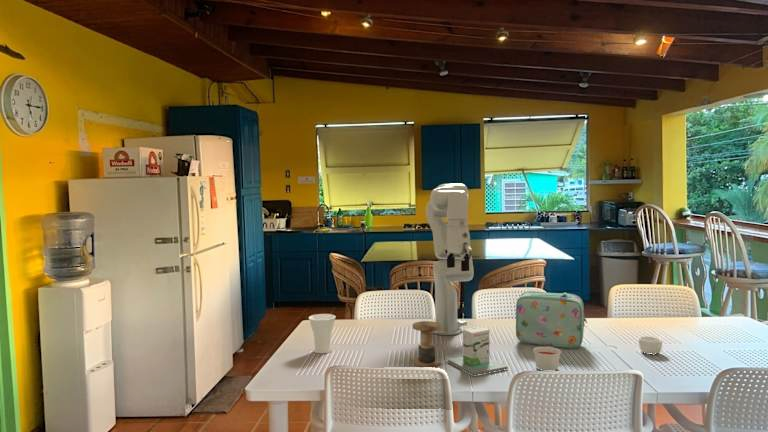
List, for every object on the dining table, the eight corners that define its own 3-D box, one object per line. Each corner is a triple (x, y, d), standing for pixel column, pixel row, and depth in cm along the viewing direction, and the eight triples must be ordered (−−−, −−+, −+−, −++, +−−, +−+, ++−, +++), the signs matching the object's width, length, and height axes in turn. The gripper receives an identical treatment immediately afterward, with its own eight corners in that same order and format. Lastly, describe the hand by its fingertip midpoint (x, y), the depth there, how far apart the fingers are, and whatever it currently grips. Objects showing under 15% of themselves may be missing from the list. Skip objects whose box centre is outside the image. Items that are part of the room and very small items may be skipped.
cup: (314, 357, 200) (314, 321, 199) (305, 349, 209) (304, 315, 209) (340, 352, 205) (339, 318, 204) (330, 345, 214) (329, 312, 214)
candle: (555, 363, 189) (555, 346, 188) (564, 372, 180) (564, 354, 179) (530, 364, 188) (530, 346, 188) (538, 373, 179) (538, 354, 179)
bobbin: (432, 357, 198) (431, 319, 197) (446, 365, 189) (446, 326, 188) (408, 361, 194) (407, 323, 193) (421, 369, 185) (421, 329, 184)
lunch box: (587, 344, 211) (587, 291, 210) (585, 351, 202) (585, 296, 201) (519, 337, 222) (519, 286, 221) (514, 344, 213) (514, 291, 212)
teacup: (665, 357, 194) (665, 342, 194) (642, 356, 196) (643, 341, 195) (655, 348, 204) (655, 334, 204) (634, 348, 205) (634, 334, 205)
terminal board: (480, 356, 198) (480, 353, 198) (507, 369, 183) (507, 366, 183) (448, 362, 192) (448, 358, 192) (473, 376, 177) (473, 372, 177)
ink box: (471, 366, 183) (471, 332, 183) (462, 362, 187) (462, 329, 187) (490, 361, 188) (490, 328, 187) (480, 358, 192) (480, 325, 191)
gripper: (479, 224, 193) (479, 271, 194) (453, 222, 209) (453, 265, 209) (462, 225, 190) (462, 273, 191) (437, 223, 205) (437, 267, 206)
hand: (457, 269), depth 200 cm, fingers open, 9 cm apart
